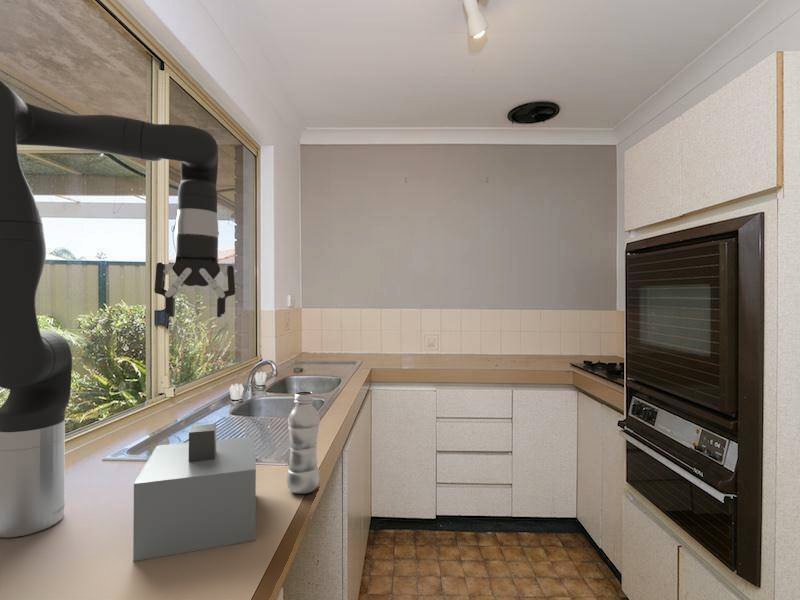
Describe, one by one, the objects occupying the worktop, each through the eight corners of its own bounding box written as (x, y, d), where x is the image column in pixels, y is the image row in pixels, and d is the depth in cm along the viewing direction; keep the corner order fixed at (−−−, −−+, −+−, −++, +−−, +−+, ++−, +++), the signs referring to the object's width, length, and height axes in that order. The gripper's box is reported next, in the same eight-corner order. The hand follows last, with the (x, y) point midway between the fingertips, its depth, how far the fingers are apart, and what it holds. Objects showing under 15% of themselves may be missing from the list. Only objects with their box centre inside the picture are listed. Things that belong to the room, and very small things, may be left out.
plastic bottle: (305, 480, 92) (306, 388, 92) (325, 490, 87) (326, 393, 87) (279, 491, 87) (280, 393, 87) (300, 501, 82) (301, 398, 82)
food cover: (133, 561, 63) (134, 450, 63) (156, 507, 80) (157, 418, 79) (255, 540, 69) (256, 438, 69) (253, 493, 85) (254, 411, 85)
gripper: (152, 229, 78) (150, 317, 78) (235, 234, 83) (233, 318, 83) (160, 235, 85) (159, 316, 85) (236, 239, 90) (235, 316, 90)
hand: (196, 316), depth 84 cm, fingers open, 8 cm apart
